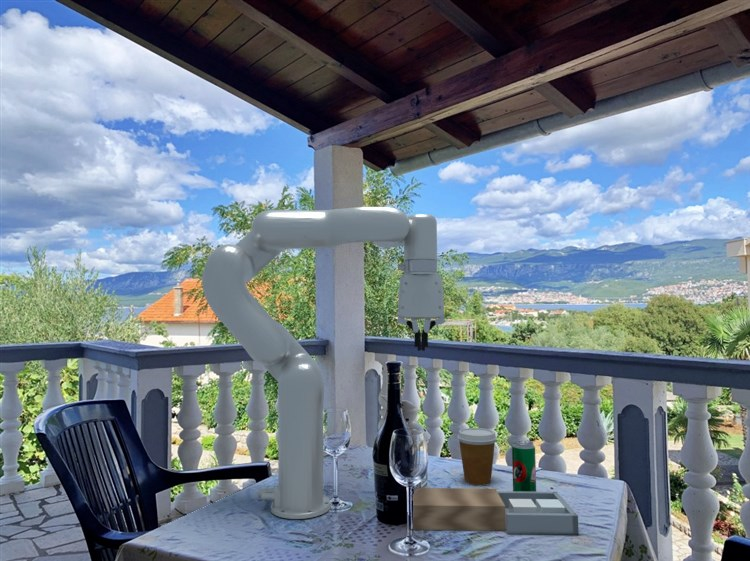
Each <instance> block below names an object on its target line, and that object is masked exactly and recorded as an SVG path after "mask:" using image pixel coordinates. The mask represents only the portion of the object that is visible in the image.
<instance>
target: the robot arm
mask: <svg viewBox="0 0 750 561" xmlns="http://www.w3.org/2000/svg"><path fill="white" fill-rule="evenodd" d="M437 224H438V223H437V219H436V217H435V216H434V215H432V214H428V213H427V214H426V213H415V214H410V215H407V214H406V213H405V212H404V211H403V210H401V209H398V208H395V207H391V206H390V207H389V206H388V207H387V206H359V207H358V206H355V207H348V208H347V207H346V208H335V209H333V208H332V209H327V210H326V209H323V210H321V209H317V210H315V209H308V210H307V209H306V210H303V209H302V210H301V209H300V210H299V209H268V210H263V211H260V212H259V213H258V214H256V216H255V217H254V219H253V221H252V224H251V230H250V231H249V232H248V233H247V234H245V236H244V237H243V238H242V239H240V240H239V241H238V242H237V243H235V244H230V243H229V244H224V245H219V246H218V247H216V248H215V249H214V250H213V251H212V252H211V253H210V254H209V256H208V257H207V259H206V261H205V264H204V266H203V273H202V277H201V279H202V280H201V282H202V290H203V293H204V298H205V299H206V300H205V301H206V302H207V304H208V306H209V308H210V310H212V311H213V314H215V316H216V317H217V318H218V320H219V321H220V322H221V323H222V324H223V325H224V327H226V329H227V330H228V331H229V333H230V334H231V335H232V336H233V337H234V338H235V339H236V341H237V342H238V343H239V344H240V345H241V346H242V347H243V349H244V350H245V351H246V352H247V354H248V355H249V357H250V358H251V359H252V360H253V361H254V362H256V363H258V364H259V365H260V364H261V365H262V366H263V367H264V368H265V369H266V370H267V372H268V373H269V374H270V375H271V376H272V377H273V378H274V380H275V381H276V382H278V383H277V384H278V385H277V386H278V387H277V388H278V389H277V393H278V396H277V398H278V403H277V404H278V422H277V424H278V432H277V433H278V454H277V456H278V457H277V458H278V464H277V467H278V468H277V471H278V475H277V477H278V478H277V479H278V480H277V482H278V483H277V484H278V485H275V486H274V487H268V486H267V487H262V486H261V487H259V488H258V497H259V498H260V499H261V500H263V501H267V500H272V502H271V504H270V511H271V513H272V514H273V515H274V516H276V517H278V518H282V519H287V520H304V519H310V518H315V517H320V516H321V515H322V516H323V514H326V513H327V512H328V511H329V510H330V509H331V506H332V504H331V503H332V501H331V499H330V498H329V497H327V496H326V495H325V494H324V407H325V406H324V402H325V378H324V374H323V371H322V369H321V367H320V366H319V364H318V363H317V362H316V361H315V359H314V358H313V357H312V356H311V355H310V354H309V352H307V351H306V349H305V348H303V346H302V345H301V343H299V342H298V340H297V339H296V338H295V337H294V336H293V335H292V334H291V333H290V331H289V330H288V329H287V328H286V327H285V326H284V325H283V324H281V323H280V322H278V321H276V320H275V319H274V317H272V316H271V315H270V314H269V313H268V312H267V311H266V309H265V308H263V306H262V305H261V304H260V303H259V301H258V300H257V298H255V297H254V296H253V294H252V293H251V292H250V290H248V288H247V284H248V282H250V281H252V279H254V278H255V277H256V276H257V275H258V274H259V273H260V272H261V271H262V270H263V269H265V268H266V267H267V266H268V265H269V264H270V263H271V262H272V261H274V259H276V258H277V257H278V255H280V254H281V253H282V251H284V249H285V250H292V249H293V250H295V249H296V250H298V249H299V250H300V249H302V250H306V249H307V250H309V249H311V250H318V249H319V250H320V249H321V250H325V249H333V248H337V247H339V246H342V245H346V244H351V243H353V244H354V243H361V242H362V243H364V242H365V243H366V242H367V243H370V242H372V243H373V244H374V245H375V246H377V247H378V248H383V249H390V248H391V249H392V248H398V247H403V263H399V264H398V263H397V270H398V271H402V272H403V274H401V275H400V278H399V285H398V301H397V303H398V304H397V305H398V306H397V309H398V310H397V311H398V316H397V319H396V320H397V321H396V322H397V324H399V325H404V326H408V327H409V328H410V329H411V330H412V331H413V333H414V336H413V337H414V347H415V348H417V351H425V350H426V348H428V347H429V332H430V331H431V330H432V329H433V328H434V327H435V326H438V325H442V324H445V322H446V320H445V316H444V314H445V301H444V300H445V299H444V287H443V286H444V285H443V281H442V276H441V274H438V227H437V226H438V225H437ZM408 319H409V320H408ZM410 319H411V320H410ZM418 319H420V320H421V319H422V320H423V319H424V321H423V322H424V323H423V329H422V330H420V329H419V324H418Z"/></svg>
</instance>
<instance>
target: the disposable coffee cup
mask: <svg viewBox="0 0 750 561" xmlns="http://www.w3.org/2000/svg"><path fill="white" fill-rule="evenodd" d="M457 439H458V441H459V451H460V455H461V456H460V457H461V462H462V463H461V464H462V472H463V477H464V483H466V482H467V483H466V484H468V483H469V484H468V485H471V484H472V486H477V485H482V486H488V485H490V484H491V483H492V474H493V465H494V464H493V463H494V454H495V453H494V452H495V443H496V442H497V436H496V432H495V431H494V430H492V429H488V428H481V427H469V428H462V429H459V430H458V435H457Z"/></svg>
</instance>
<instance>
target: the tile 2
mask: <svg viewBox="0 0 750 561" xmlns="http://www.w3.org/2000/svg"><path fill="white" fill-rule="evenodd" d="M536 507H537V513H565V507H564V506H563V504H562V503H561V502H560V501H559V500H558V499H536Z"/></svg>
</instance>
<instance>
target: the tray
mask: <svg viewBox="0 0 750 561" xmlns="http://www.w3.org/2000/svg"><path fill="white" fill-rule="evenodd" d="M497 492H498V494H499V496H500V498H501V499H502V501H503V503H504V505H505V516H506V531H505V533H506V534H507V535H531V536H532V535H538V536H539V535H540V536H541V535H542V536H543V535H545V536H546V535H547V536H549V535H551V536H552V535H553V536H579V533H580V532H579V515H578V514H577V513H576V512H575V510H574V509H573V508H572V507H571V506H570V505H569V503H568V502H567V501H566V500H565V499H564V498H563V497H562V496H561V494H560V493H558V491H536V492H529V491H513V490H511V491H509V490H507V491H505V490H498V491H497ZM509 499H531V500H532V501H533V502H534V504H535V505H536V499H558V500H559V501H560V502H561V503H562V504H563V506H564V507H565V513H509Z"/></svg>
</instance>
